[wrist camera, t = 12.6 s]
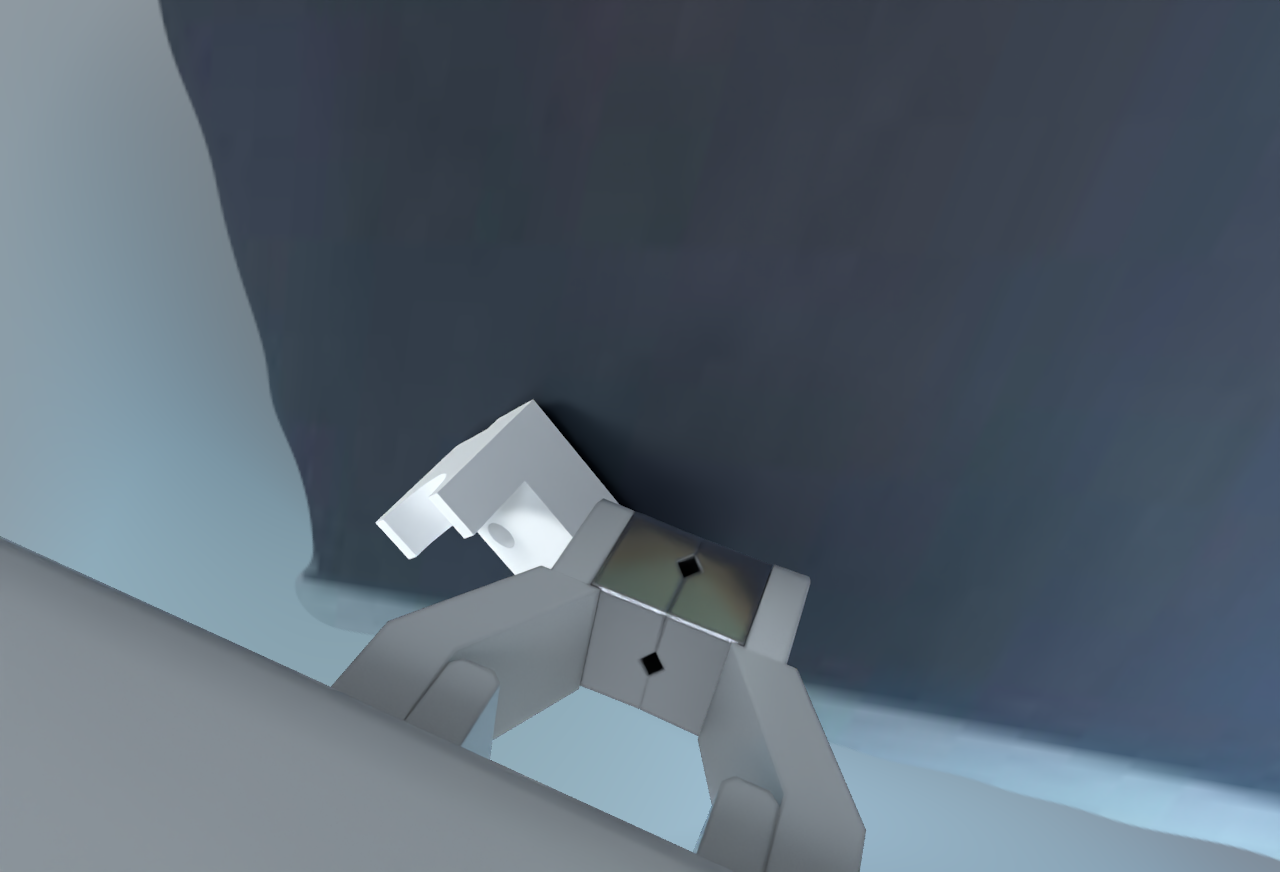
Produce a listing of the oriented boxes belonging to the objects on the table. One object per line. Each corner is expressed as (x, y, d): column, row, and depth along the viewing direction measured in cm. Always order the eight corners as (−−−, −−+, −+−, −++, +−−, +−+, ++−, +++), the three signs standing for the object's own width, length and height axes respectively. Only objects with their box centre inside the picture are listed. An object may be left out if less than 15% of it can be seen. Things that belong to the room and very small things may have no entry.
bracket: (467, 435, 49) (375, 522, 45) (533, 399, 44) (436, 493, 39) (606, 599, 52) (534, 696, 48) (683, 583, 47) (611, 690, 42)
